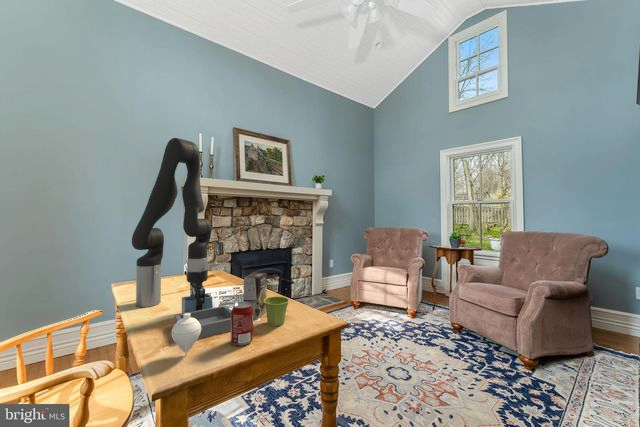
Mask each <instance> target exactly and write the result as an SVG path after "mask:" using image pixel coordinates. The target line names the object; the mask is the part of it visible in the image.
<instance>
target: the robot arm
mask: <svg viewBox="0 0 640 427" xmlns="http://www.w3.org/2000/svg"><path fill="white" fill-rule="evenodd" d="M199 149H200V148H199V147H198V145H197V144H196V143H195V142H193V141H189V140H186V139H184V138H183V139H182V138H178V137H173V138H171V139H169V140H168V142H167V144H166V146H165V148H164V152H163V156H162V160H161V164H160V169H159V171H158V174H157V177H156V180H155V182H154V185H153V187H152V189H151V192H150V194H149V197H148V200H147V204H146V206H145V209H144V211H143V213H142V216H141V217H140V220H139V221H138V223H137V225H136V227H135V229H134V231H133V234H132V237H131V246H132V247H133V248H134V249H135V250H137V251H146V250H147V252H146V253H145V254H143V255H141V256H140V257H138V258H137V259H136V270H135V271H136V272H135V273H136V276H135V277H136V280H135V283H136V284H135V306H136V307H138V308H147V307H154V306H157V305H159V304H160V303H161V299H162V296H161V295H162V260H163V257H164V247H165V246H164V244H165V243H164V242H165V236H164V233H163V231H162V229H161V228H158V227H155V224H156V223H157V222H158V221H159V220H161V219H162V218H163V217H164V216H165V215H166V214H168V212H170V211H171V209H172V208H173V207H174V204H175V201H176V199H177V197H178V194H179V193H178V191H179V190H178V185H177V182H176V177H175V176H176V171H177V167H178V165H179V163H181V164H185V166H186V172H187V174H186V178H185V182H184V184H183V187H182V193H181V194H182V195H181V196H182V201H183V202H182V203H183V208H184V215H183V222H182V223H183V225H182V226H183V231H184V233H185V235H187V237H190V238H195V240H194V241H193V242H191V243H190V244H189V245H188V247H187V263H186V265H187V266H186V282H188V283H189V289H190V291H189V294H190V295H189V296H194V299H195V300H196V311H199V310H202V304H204V302H205V294H206V288H204V287H205V286H204V285H203V283H204V282H205V283H206V282H207V281H208V279H209V278H208V275H209V273H208V271H209V270H208V268H209V264H208V263H209V261H208V246H209V243H210V239H211V235H212V231H213V230H212V229H213V228H212V227H213V226H212V224H211V222H210V220H208V219H207V218H199V214H200V213H202V212H204V210H205V209H204V208H205V207H204V200H203V195H202V190H201V179H200V178H201V164H200V163H201V159H200V158H201V157H200V150H199ZM200 298H201V301H199V299H200Z"/></svg>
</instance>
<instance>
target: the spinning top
mask: <svg viewBox="0 0 640 427" xmlns="http://www.w3.org/2000/svg"><path fill="white" fill-rule="evenodd" d="M190 315H191V314H190V313H185V314H183V319H181V320H179V321H177V323H176V324H175V323H174V325H173V326H172V329H171V338H172V339H173V341H174V343H175V344H176V346H178V348H179V349H180V350H181V351H182V352H184V353H185V356H186V357H187V356H188V353H189V351H190V350H191V349H192V348H193V346H194V345H195V344H196V342H197V341H198V340H199V339H198V337H199V335H200V333H201V325H200V323H199V321H198V320H197V319H195V318H191V317H190Z"/></svg>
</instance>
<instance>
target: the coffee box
mask: <svg viewBox="0 0 640 427" xmlns="http://www.w3.org/2000/svg"><path fill="white" fill-rule="evenodd" d="M267 289H268V273H267V272H252V273H250V274H248V275H246V276H244V277H243V296H242V299H243V300H242V302H250V303H251V306H252V308H253V320H255V319H256V321H257V320H259V319H260V318H261V317H262V316H264V314H265V313H267V312H266V306H265V303H264V299H266V298H268V297H267V295H268V294H267V293H268V290H267Z"/></svg>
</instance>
